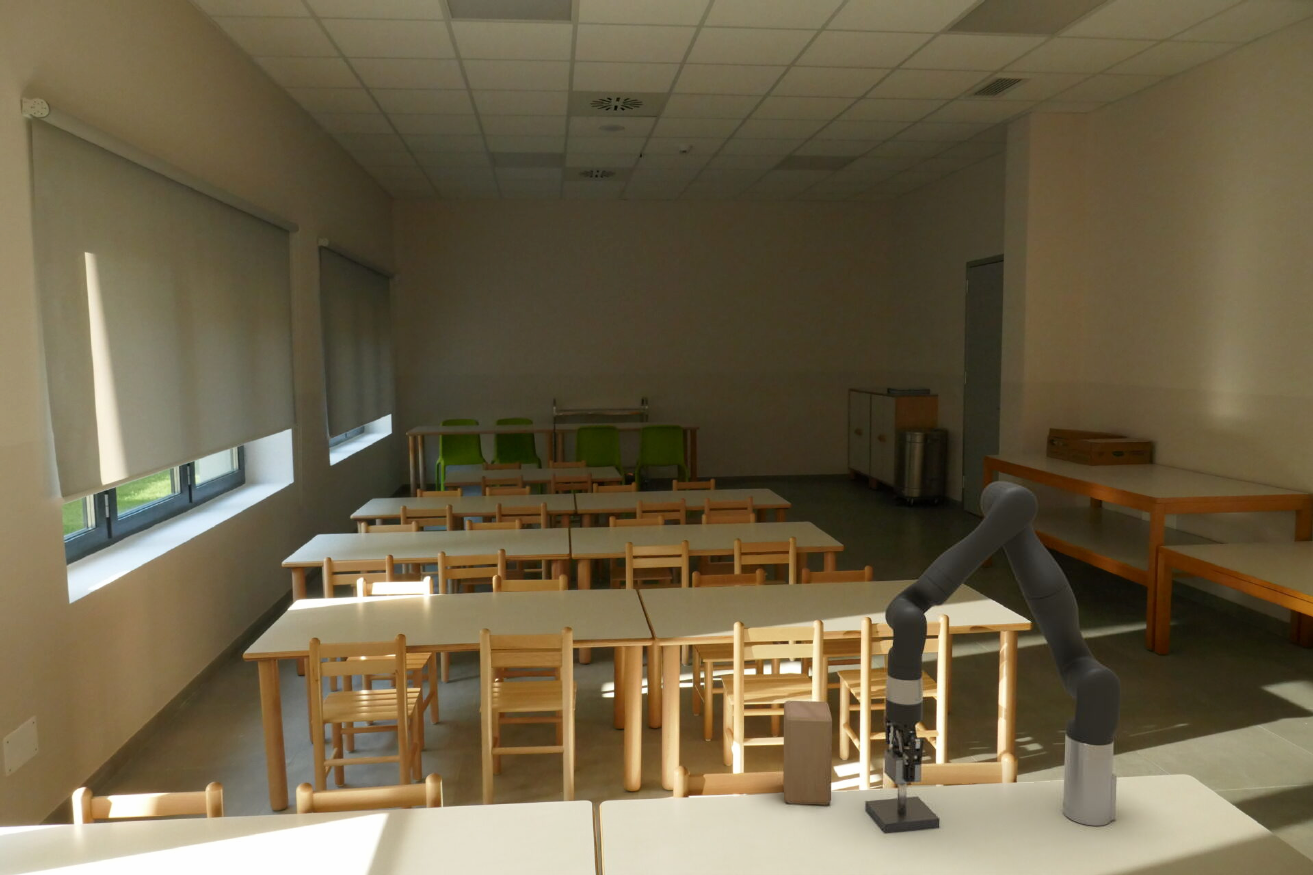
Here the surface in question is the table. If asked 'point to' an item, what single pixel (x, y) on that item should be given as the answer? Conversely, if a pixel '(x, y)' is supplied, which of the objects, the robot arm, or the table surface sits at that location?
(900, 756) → the collar
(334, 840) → the table surface
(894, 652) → the robot arm
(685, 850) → the table surface
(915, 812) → the shaft block
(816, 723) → the wooden block
